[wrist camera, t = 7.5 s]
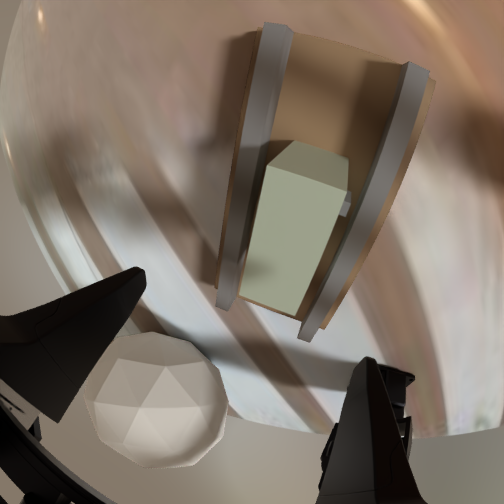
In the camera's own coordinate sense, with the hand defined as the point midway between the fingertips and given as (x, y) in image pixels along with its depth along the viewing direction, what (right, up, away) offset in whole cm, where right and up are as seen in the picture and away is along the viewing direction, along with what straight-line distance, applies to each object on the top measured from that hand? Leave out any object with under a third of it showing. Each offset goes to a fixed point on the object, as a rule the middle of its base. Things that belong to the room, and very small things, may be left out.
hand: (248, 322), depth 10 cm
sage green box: (+4, +6, +8) cm, 11 cm away
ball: (-9, -12, +28) cm, 32 cm away
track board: (+4, +6, +9) cm, 12 cm away
